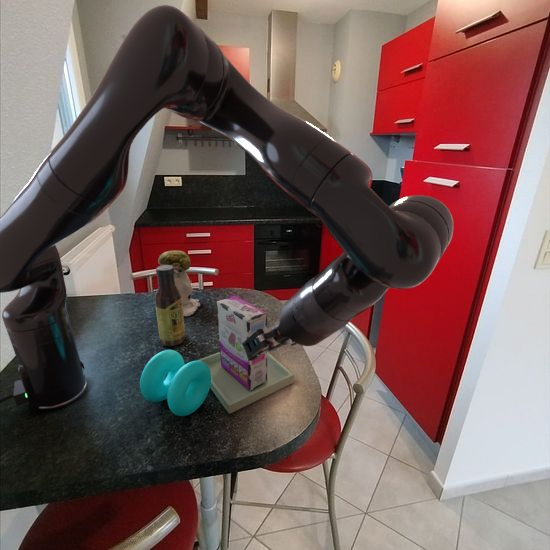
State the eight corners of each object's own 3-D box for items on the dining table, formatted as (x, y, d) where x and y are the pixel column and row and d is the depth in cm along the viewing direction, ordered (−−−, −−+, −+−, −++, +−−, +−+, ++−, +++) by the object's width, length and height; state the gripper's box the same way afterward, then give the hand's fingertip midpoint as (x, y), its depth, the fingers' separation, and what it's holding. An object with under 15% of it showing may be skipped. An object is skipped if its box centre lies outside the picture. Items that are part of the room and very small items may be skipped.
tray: (229, 414, 60) (228, 405, 59) (195, 368, 72) (195, 361, 71) (293, 382, 68) (293, 374, 67) (253, 346, 80) (253, 339, 79)
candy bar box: (269, 381, 67) (268, 312, 61) (250, 393, 64) (247, 321, 58) (238, 357, 75) (235, 293, 69) (219, 366, 72) (215, 300, 66)
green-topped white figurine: (156, 303, 102) (148, 247, 95) (197, 297, 106) (192, 243, 99) (157, 320, 92) (147, 260, 85) (202, 313, 96) (196, 255, 89)
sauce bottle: (178, 349, 79) (169, 274, 72) (155, 346, 80) (143, 271, 73) (190, 335, 85) (182, 264, 78) (168, 332, 86) (159, 262, 79)
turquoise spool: (179, 430, 56) (173, 385, 53) (140, 409, 61) (132, 366, 57) (216, 395, 64) (212, 353, 61) (179, 378, 69) (174, 339, 65)
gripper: (342, 276, 49) (293, 318, 61) (263, 296, 41) (226, 339, 54) (366, 321, 46) (310, 354, 59) (288, 351, 39) (243, 382, 51)
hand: (270, 347), depth 56 cm, fingers open, 8 cm apart
